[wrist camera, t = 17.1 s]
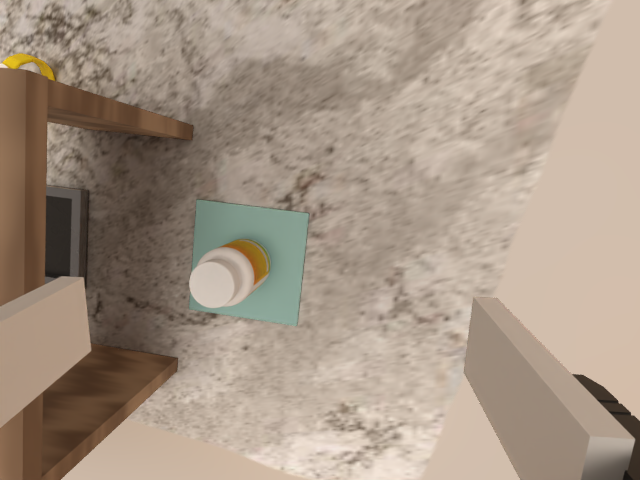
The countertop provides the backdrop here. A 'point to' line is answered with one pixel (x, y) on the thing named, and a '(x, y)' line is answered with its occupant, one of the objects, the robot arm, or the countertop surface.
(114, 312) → the countertop surface
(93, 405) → the tunnel
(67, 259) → the tray
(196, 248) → the pad
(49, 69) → the watch
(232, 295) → the supplement bottle
